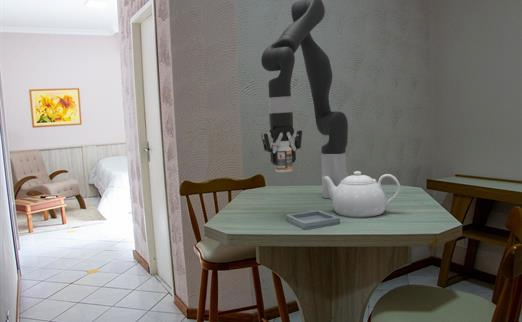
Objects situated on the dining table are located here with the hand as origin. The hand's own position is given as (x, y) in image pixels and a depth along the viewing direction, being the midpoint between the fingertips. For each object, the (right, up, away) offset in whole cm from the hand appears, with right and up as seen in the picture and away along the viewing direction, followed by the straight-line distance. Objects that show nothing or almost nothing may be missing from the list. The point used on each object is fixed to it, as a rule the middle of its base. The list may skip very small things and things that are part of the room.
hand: (283, 163), depth 138 cm
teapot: (+25, -16, +2) cm, 30 cm away
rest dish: (+8, -18, -9) cm, 22 cm away
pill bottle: (0, -3, 0) cm, 3 cm away
